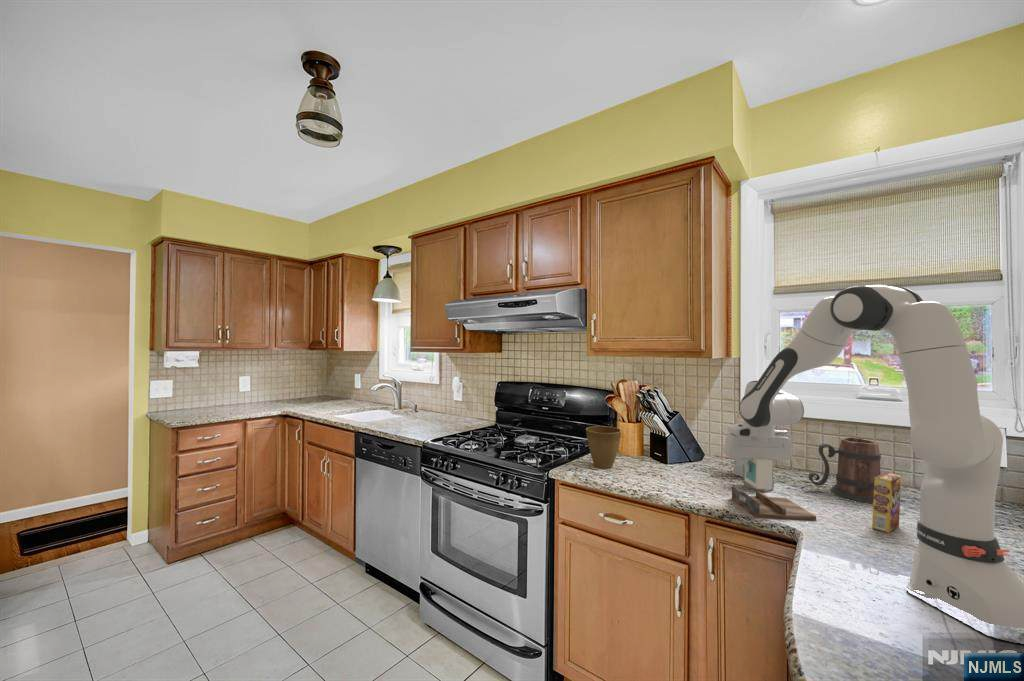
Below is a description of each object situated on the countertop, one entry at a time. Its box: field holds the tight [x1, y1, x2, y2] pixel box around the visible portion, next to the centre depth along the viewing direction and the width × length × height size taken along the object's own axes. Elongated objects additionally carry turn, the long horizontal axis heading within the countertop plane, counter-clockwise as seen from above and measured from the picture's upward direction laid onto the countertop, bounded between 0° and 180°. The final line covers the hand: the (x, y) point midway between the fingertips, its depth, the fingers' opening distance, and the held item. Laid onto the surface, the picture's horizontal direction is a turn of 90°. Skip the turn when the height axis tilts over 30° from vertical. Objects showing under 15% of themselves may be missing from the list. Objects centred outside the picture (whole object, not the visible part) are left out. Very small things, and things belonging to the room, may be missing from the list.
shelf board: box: [731, 485, 817, 521], centre depth 139 cm, size 16×18×4 cm
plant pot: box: [585, 425, 622, 470], centre depth 184 cm, size 15×15×16 cm
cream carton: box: [745, 458, 772, 489], centre depth 139 cm, size 5×8×9 cm, turn 176°
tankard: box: [808, 436, 882, 505], centre depth 155 cm, size 24×17×20 cm
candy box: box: [871, 472, 902, 534], centre depth 126 cm, size 9×4×15 cm, turn 123°
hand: (757, 472), depth 139 cm, fingers closed on cream carton, 5 cm apart
